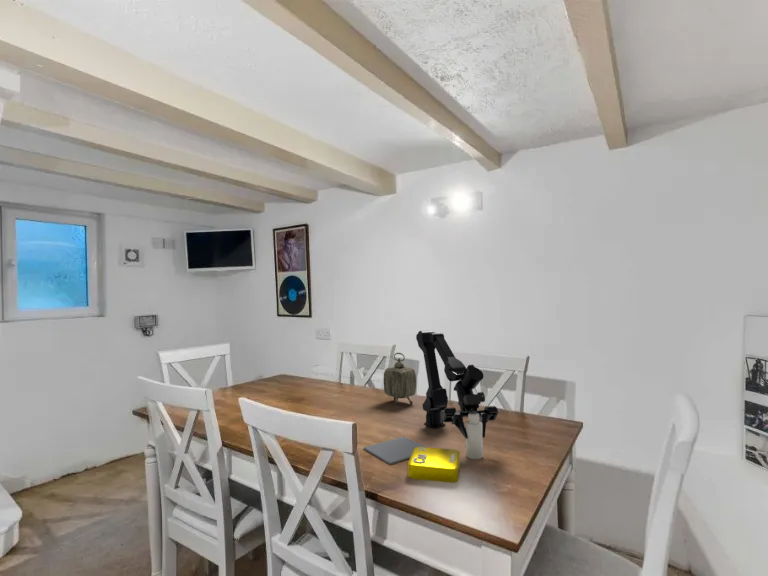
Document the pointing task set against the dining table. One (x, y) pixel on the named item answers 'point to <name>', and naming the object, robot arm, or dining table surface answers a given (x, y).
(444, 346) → the robot arm
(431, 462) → the element tile
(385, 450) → the slate mat
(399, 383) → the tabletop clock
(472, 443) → the white bottle
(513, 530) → the dining table surface
